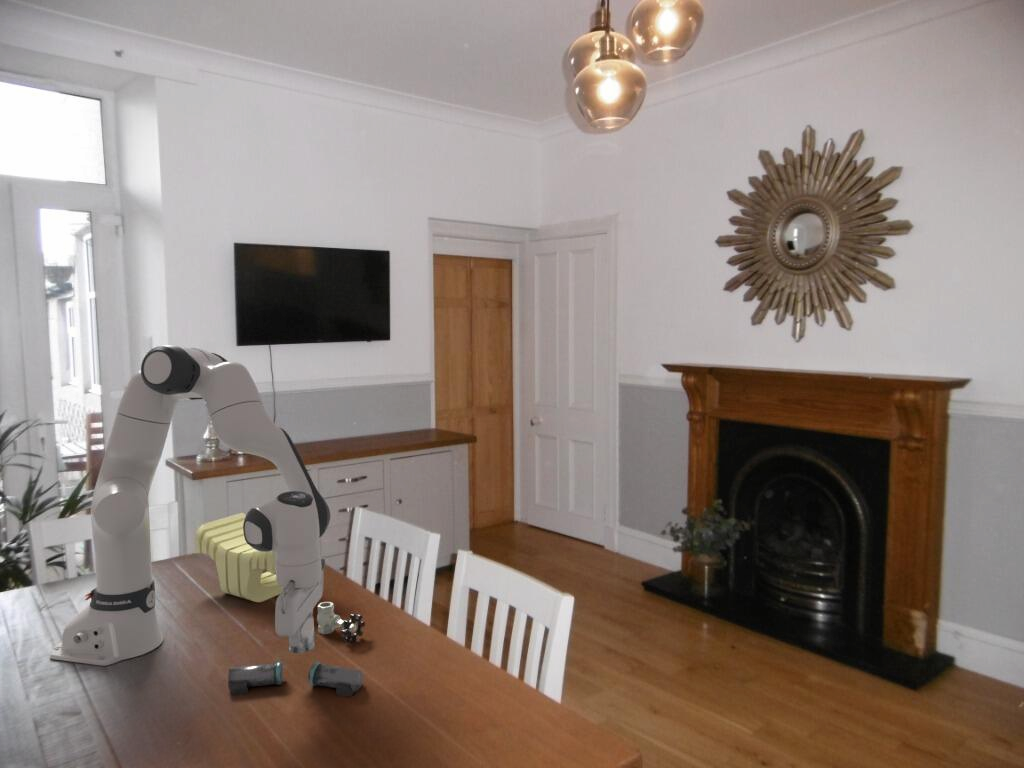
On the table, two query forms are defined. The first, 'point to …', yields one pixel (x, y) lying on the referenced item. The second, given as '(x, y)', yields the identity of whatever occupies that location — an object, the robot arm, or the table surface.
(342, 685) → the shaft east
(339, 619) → the valve
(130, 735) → the table surface
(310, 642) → the coupler
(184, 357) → the robot arm
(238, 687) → the grey pipe fitting
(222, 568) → the slatted curved stool
